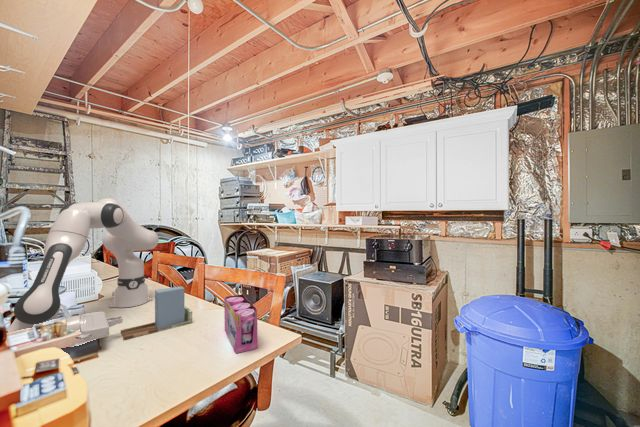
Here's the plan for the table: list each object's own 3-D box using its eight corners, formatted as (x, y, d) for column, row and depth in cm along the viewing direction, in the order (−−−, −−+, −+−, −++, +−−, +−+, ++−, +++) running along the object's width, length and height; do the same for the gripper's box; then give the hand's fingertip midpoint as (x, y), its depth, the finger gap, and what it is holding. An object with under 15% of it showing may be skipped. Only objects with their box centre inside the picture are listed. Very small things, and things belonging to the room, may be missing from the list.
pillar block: (155, 326, 114) (155, 290, 114) (181, 320, 121) (181, 286, 121) (157, 330, 110) (157, 292, 110) (184, 323, 117) (184, 288, 117)
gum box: (259, 350, 95) (259, 311, 95) (236, 356, 91) (236, 315, 91) (243, 325, 116) (243, 293, 116) (223, 329, 112) (223, 296, 112)
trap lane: (120, 334, 108) (120, 320, 108) (185, 318, 124) (185, 306, 124) (123, 342, 101) (123, 326, 101) (192, 324, 117) (192, 311, 117)
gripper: (73, 329, 87) (126, 318, 97) (73, 312, 103) (118, 304, 112) (73, 349, 87) (125, 336, 97) (73, 329, 103) (118, 320, 112)
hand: (122, 319), depth 104 cm, fingers closed
